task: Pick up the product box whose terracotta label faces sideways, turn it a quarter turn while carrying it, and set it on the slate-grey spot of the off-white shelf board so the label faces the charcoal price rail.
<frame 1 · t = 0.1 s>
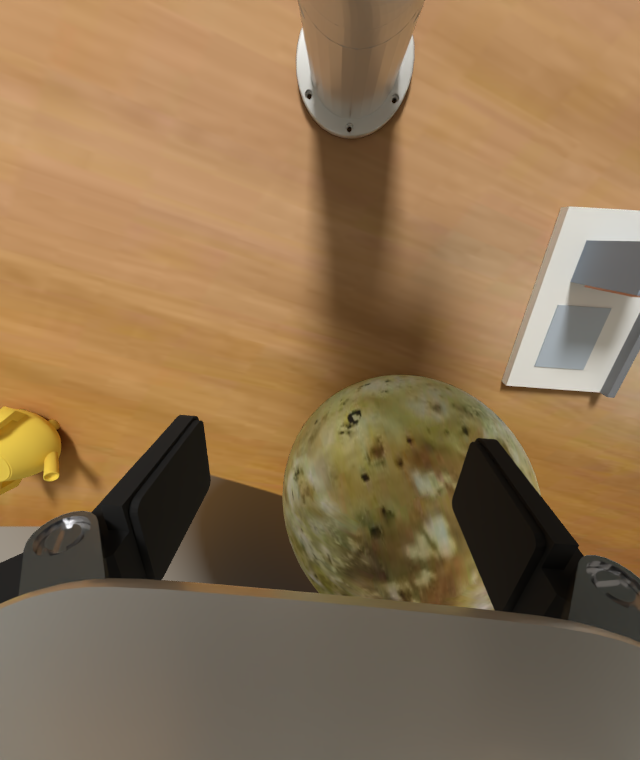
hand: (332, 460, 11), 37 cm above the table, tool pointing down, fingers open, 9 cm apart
shelf board: (578, 308, 43), on the table
speckled stone ball: (384, 425, 53), on the table
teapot: (39, 429, 58), on the table
product box: (597, 283, 40), point 1 cm above the table, touching shelf board
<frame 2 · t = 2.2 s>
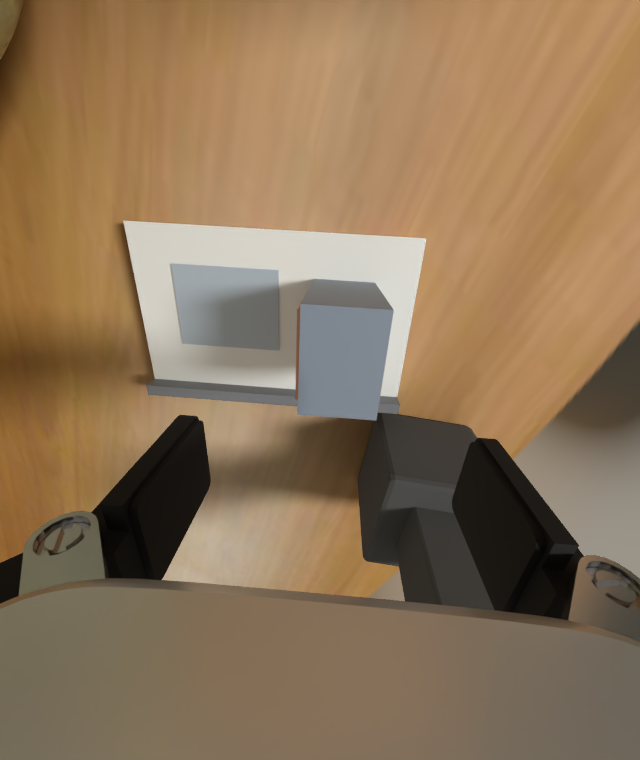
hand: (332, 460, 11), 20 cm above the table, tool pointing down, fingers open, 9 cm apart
sculpture: (409, 453, 35), on the table
shelf board: (276, 313, 29), on the table
product box: (312, 320, 27), point 1 cm above the table, touching shelf board
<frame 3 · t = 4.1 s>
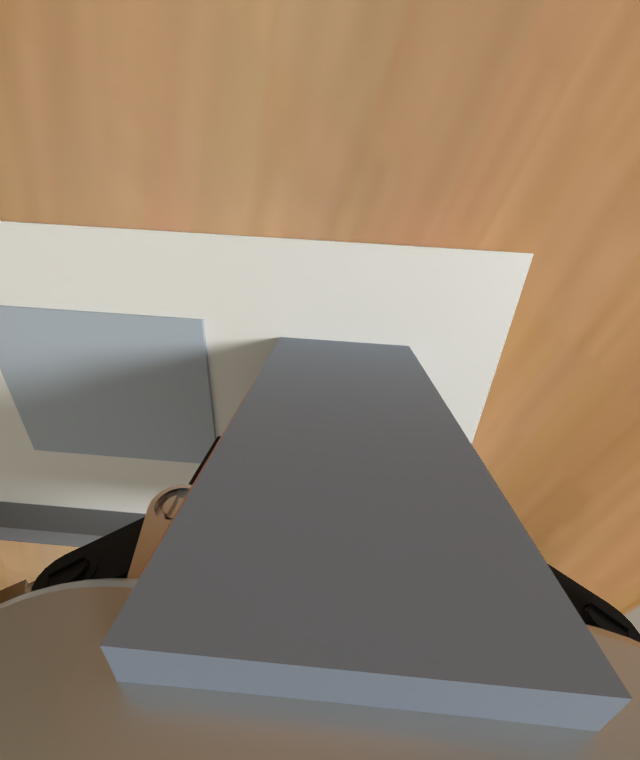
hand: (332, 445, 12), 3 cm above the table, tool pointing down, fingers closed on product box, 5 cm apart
shelf board: (214, 392, 15), on the table
product box: (280, 413, 13), point 1 cm above the table, touching gripper, shelf board
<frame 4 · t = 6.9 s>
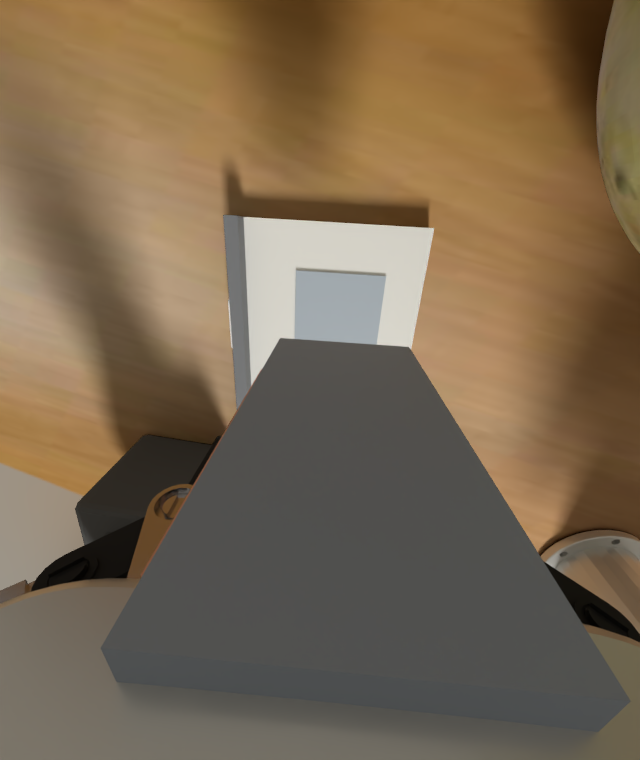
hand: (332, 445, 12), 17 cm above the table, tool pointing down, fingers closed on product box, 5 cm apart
sculpture: (191, 473, 36), on the table
shelf board: (327, 365, 29), on the table
product box: (280, 414, 14), point 15 cm above the table, touching gripper
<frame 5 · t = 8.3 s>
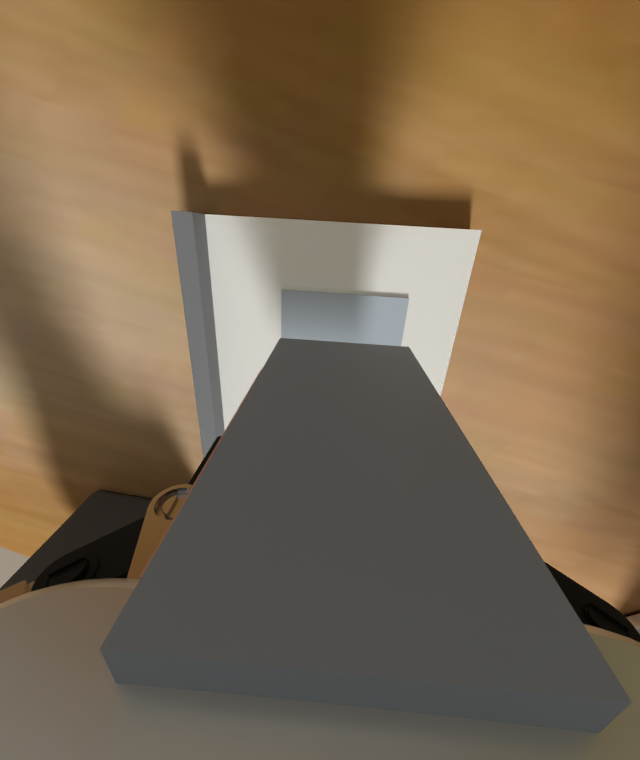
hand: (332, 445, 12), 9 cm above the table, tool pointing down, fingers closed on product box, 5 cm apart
sculpture: (158, 534, 29), on the table
shelf board: (327, 411, 22), on the table
product box: (280, 414, 13), point 8 cm above the table, touching gripper
when the fingers open (5 cm above the table, at t = 9.6 s): product box drops 1 cm, resting on shelf board.
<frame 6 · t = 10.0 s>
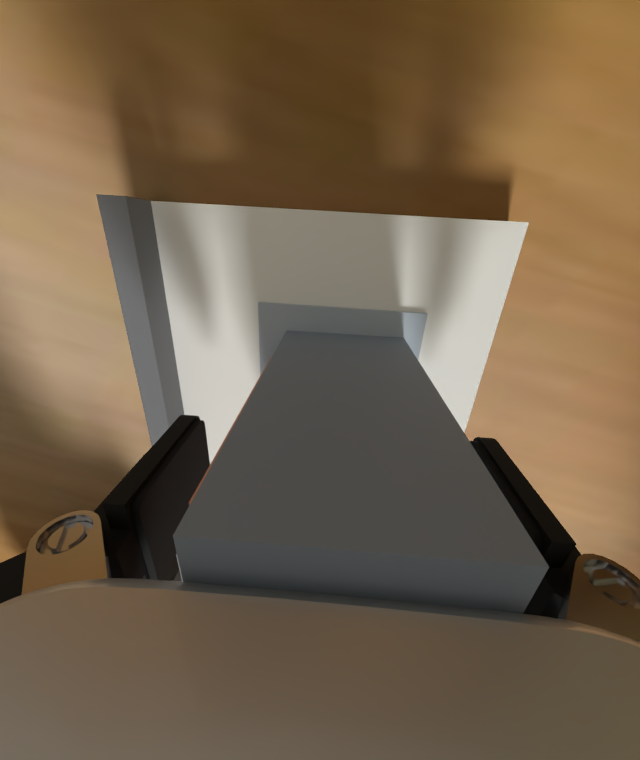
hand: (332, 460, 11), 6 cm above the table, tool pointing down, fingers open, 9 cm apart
shelf board: (320, 448, 18), on the table
product box: (286, 401, 15), point 2 cm above the table, touching shelf board
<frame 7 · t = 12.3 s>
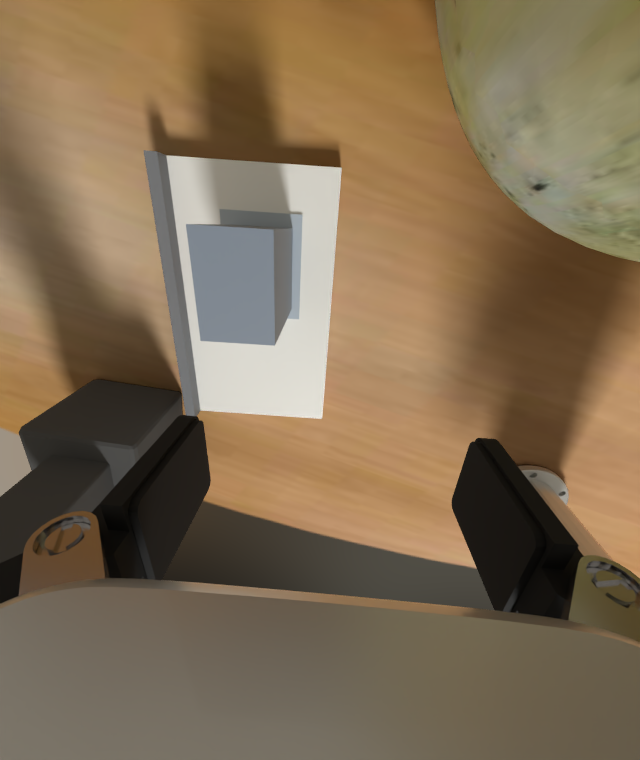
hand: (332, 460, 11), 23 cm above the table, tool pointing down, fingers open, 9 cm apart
sculpture: (144, 418, 38), on the table
shelf board: (261, 307, 31), on the table
speckled stone ball: (595, 17, 22), on the table
product box: (237, 267, 28), point 2 cm above the table, touching shelf board
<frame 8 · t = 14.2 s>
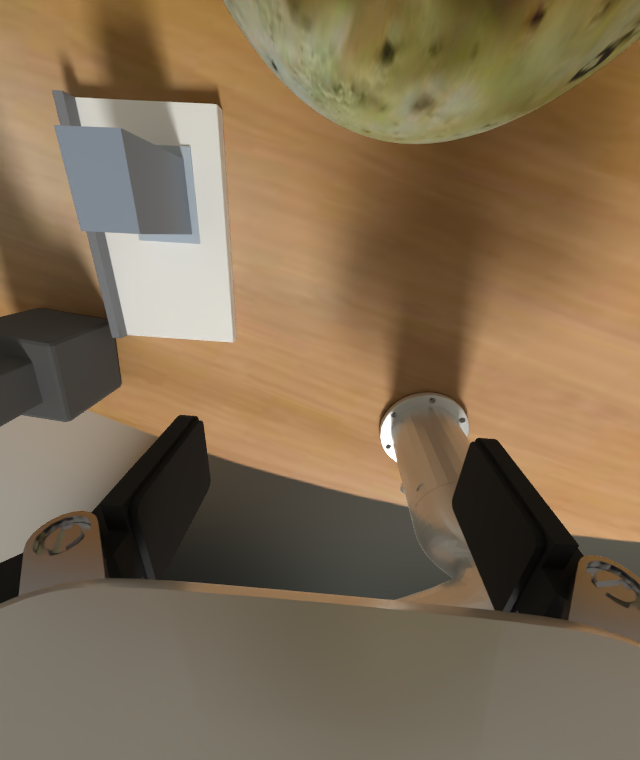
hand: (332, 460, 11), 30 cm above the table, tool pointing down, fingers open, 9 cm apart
sculpture: (83, 348, 43), on the table
shelf board: (171, 237, 36), on the table
product box: (142, 196, 33), point 2 cm above the table, touching shelf board
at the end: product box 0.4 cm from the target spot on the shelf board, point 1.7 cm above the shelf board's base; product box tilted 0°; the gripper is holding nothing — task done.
